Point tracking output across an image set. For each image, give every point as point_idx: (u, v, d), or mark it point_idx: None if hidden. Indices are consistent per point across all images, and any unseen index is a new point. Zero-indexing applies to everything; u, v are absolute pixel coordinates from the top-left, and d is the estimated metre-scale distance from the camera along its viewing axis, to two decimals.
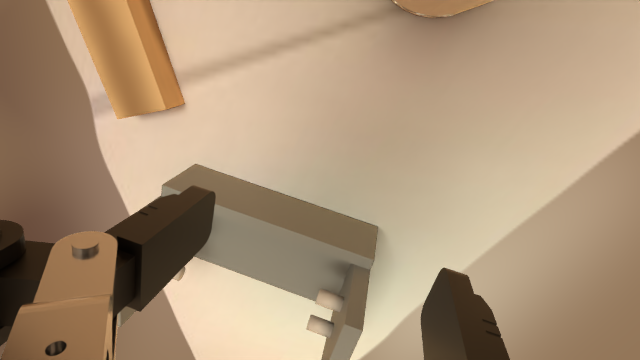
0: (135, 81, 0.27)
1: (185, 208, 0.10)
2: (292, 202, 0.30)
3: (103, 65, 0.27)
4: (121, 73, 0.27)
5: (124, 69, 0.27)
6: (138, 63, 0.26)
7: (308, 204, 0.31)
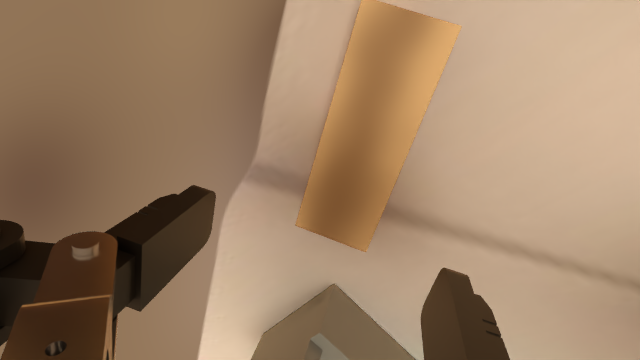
0: (351, 209, 0.21)
1: (185, 208, 0.10)
2: None
3: (323, 173, 0.21)
4: (339, 193, 0.21)
5: (348, 192, 0.21)
6: (372, 198, 0.20)
7: None
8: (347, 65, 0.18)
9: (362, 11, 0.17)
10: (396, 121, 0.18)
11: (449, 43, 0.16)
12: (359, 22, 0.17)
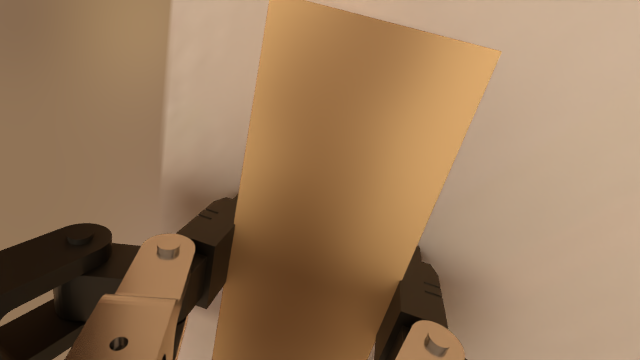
0: None
1: None
2: None
3: (241, 323, 0.11)
4: (274, 356, 0.11)
5: (287, 355, 0.11)
6: None
7: None
8: (257, 137, 0.09)
9: (274, 25, 0.07)
10: (366, 243, 0.09)
11: (473, 90, 0.07)
12: (270, 49, 0.08)
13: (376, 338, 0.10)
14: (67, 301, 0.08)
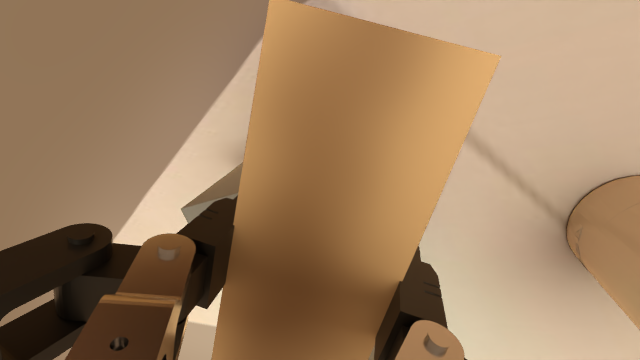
0: None
1: None
2: None
3: (240, 327, 0.11)
4: (273, 359, 0.11)
5: (287, 358, 0.11)
6: None
7: None
8: (256, 140, 0.09)
9: (273, 29, 0.07)
10: (366, 247, 0.09)
11: (472, 95, 0.07)
12: (270, 53, 0.08)
13: (376, 338, 0.10)
14: (67, 301, 0.08)
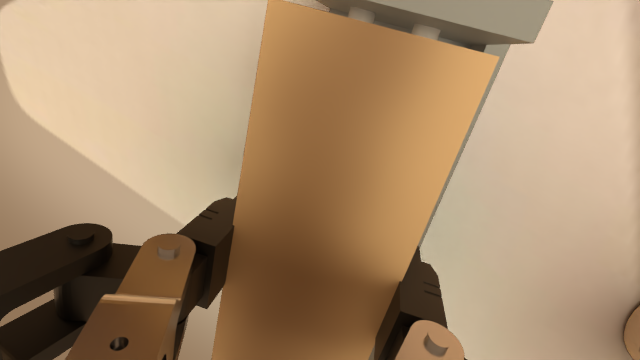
0: None
1: None
2: None
3: (240, 328, 0.11)
4: None
5: (286, 359, 0.11)
6: None
7: None
8: (256, 141, 0.09)
9: (272, 30, 0.07)
10: (365, 248, 0.09)
11: (471, 95, 0.07)
12: (269, 54, 0.08)
13: (376, 338, 0.10)
14: (67, 301, 0.08)
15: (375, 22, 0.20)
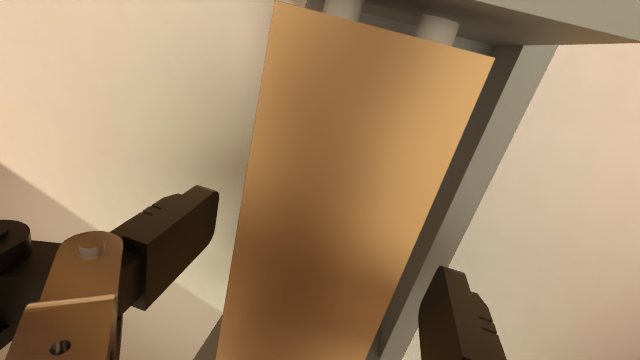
0: None
1: (189, 208, 0.10)
2: None
3: (245, 320, 0.11)
4: (276, 351, 0.12)
5: (290, 350, 0.12)
6: None
7: None
8: (261, 139, 0.09)
9: (278, 32, 0.08)
10: (366, 241, 0.09)
11: (468, 94, 0.07)
12: (274, 55, 0.08)
13: None
14: None
15: (367, 16, 0.15)
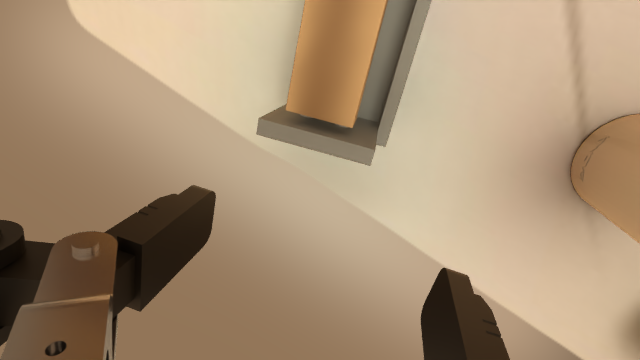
0: (335, 84, 0.23)
1: (185, 208, 0.10)
2: None
3: (308, 51, 0.23)
4: (324, 69, 0.23)
5: (331, 67, 0.23)
6: (353, 70, 0.22)
7: None
8: None
9: None
10: None
11: None
12: None
13: None
14: None
15: None
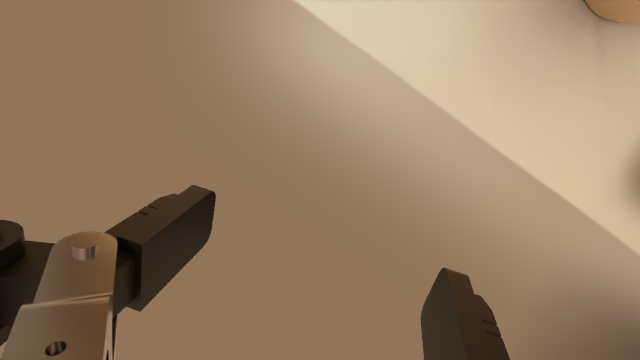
0: None
1: (185, 208, 0.10)
2: None
3: None
4: None
5: None
6: None
7: None
8: None
9: None
10: None
11: None
12: None
13: None
14: None
15: None
